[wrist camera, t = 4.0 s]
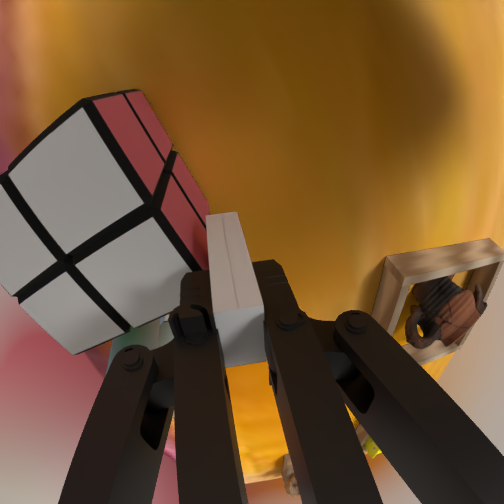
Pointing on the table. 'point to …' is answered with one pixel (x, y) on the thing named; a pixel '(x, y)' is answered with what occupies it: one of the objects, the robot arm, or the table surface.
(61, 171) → the puzzle cube
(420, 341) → the pottery mug
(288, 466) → the figurine organizer frame
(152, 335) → the blue-grey rounded peg
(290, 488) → the lion figurine
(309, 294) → the table surface
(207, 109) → the table surface
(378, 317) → the frame
